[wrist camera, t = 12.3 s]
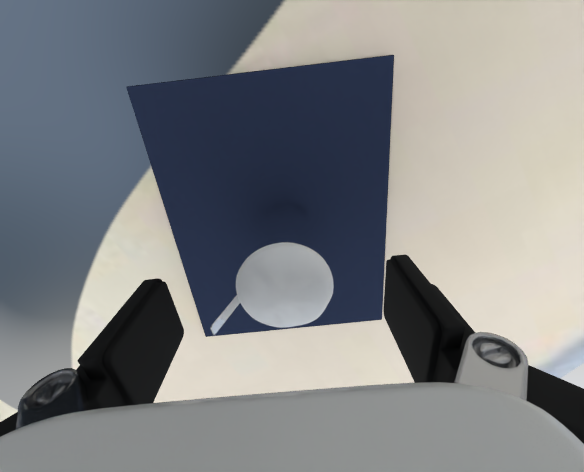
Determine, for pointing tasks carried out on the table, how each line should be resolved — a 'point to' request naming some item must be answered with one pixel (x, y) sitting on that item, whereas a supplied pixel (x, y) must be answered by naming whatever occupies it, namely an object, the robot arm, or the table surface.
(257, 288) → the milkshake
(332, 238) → the mouse pad
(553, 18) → the table surface
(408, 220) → the table surface
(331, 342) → the table surface
